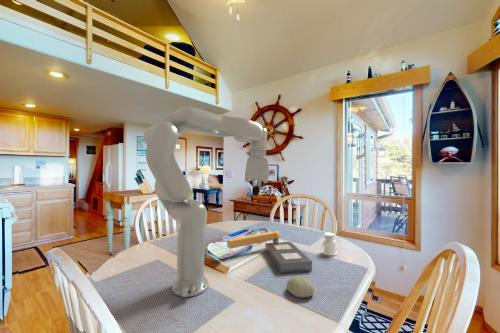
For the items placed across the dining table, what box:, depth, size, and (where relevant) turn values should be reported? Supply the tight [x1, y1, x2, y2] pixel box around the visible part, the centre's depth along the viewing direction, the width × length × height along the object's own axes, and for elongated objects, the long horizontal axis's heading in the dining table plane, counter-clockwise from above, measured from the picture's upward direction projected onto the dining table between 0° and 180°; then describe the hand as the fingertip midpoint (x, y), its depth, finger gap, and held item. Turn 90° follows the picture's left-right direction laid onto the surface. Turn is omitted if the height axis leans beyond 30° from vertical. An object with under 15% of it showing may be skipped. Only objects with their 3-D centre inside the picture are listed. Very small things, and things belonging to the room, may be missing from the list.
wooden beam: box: [226, 230, 280, 250], centre depth 113 cm, size 30×4×4 cm, turn 122°
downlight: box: [320, 232, 339, 257], centre depth 114 cm, size 8×7×10 cm
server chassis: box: [264, 239, 313, 274], centre depth 107 cm, size 30×14×5 cm, turn 12°
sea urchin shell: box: [286, 275, 315, 299], centre depth 78 cm, size 9×8×8 cm
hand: (255, 195), depth 100 cm, fingers closed
